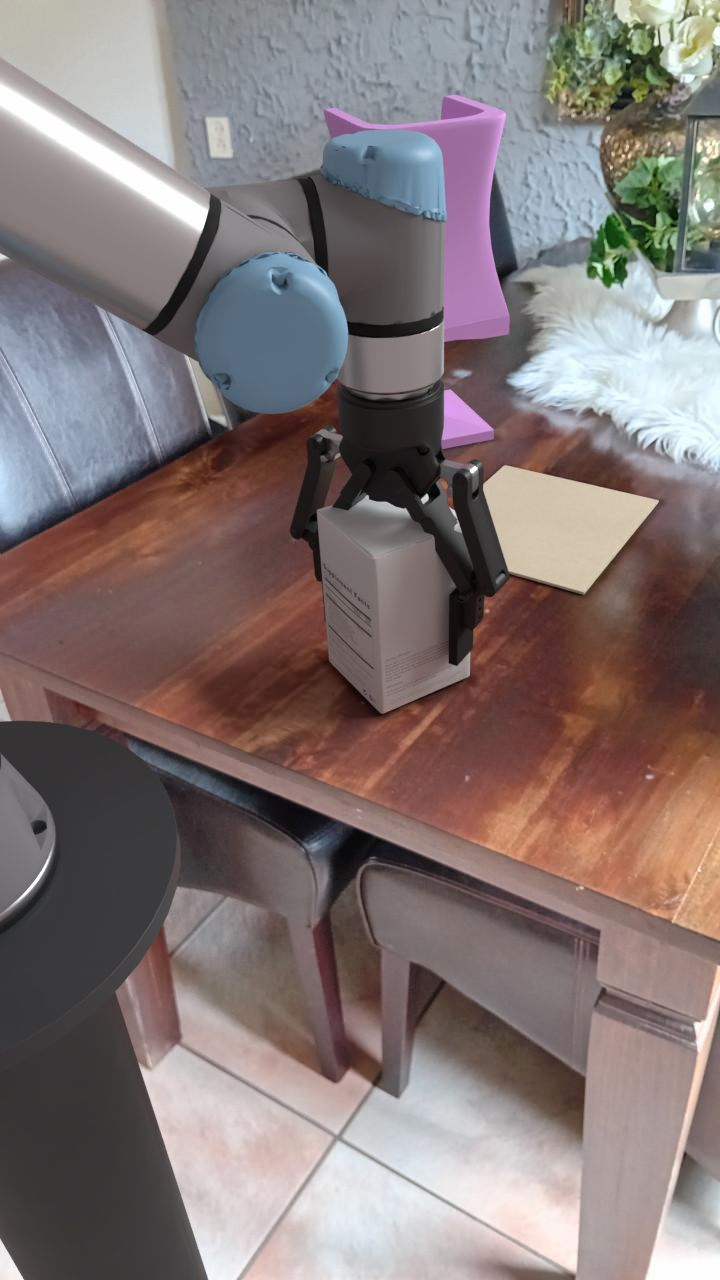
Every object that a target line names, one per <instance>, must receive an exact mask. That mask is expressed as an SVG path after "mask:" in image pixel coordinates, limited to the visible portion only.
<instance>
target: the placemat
mask: <svg viewBox="0 0 720 1280" xmlns="http://www.w3.org/2000/svg"><path fill="white" fill-rule="evenodd" d="M483 491H484V494H485V497H486V500H487V504H488V507H489V510H490V513H491V517H492V520H493V523H494V526H495V529H496V533H497V536H498V539H499V542H500V546H501V549H502V552H503V555H504V558H505V562H506V565H507V568H508V571H509V575H512V576H516V577H519V578H523V579H525V580H530V581H534V582H536V583H541V584H544V585H547V586H551V587H554V588H559V589H561V590H565V591H567V592H568V591H569V592H573V593H576V594H579V595H582V596H584V595H585V594H586V593H587V592H588V590H589V589H591V587H592V585H593V584H594V583H595V582H596V580H597V579H598V578H599V577H600V576H601V575H602V573H603V572H604V571H605V570H606V568H607V567H608V566H609V565H610V563H611V562H612V561H613V560H614V559H615V557H616V556H617V555H618V553H619V552H620V551H621V550H622V548H623V547H624V546H625V545H626V544H627V542H628V541H629V540H630V538H631V537H632V536H633V535H634V534H635V532H636V531H637V530H638V529H639V528H640V526H641V525H642V524H643V522H644V521H645V520H646V519H647V518H648V516H649V515H650V514H651V513H652V511H653V510H654V509H655V508H656V506H657V505H658V504H659V502H660V500H659V499H655V498H651V497H646V496H642V495H638V494H633V493H629V492H625V491H620V490H616V489H611V488H606V487H602V486H598V485H595V484H590V483H585V482H581V481H577V480H572V479H567V478H564V477H558V476H555V475H550V474H547V473H541V472H537V471H533V470H528V469H523V468H520V467H515V466H511V465H507V464H504V465H503V466H501V467H500V469H498V470H497V471H496V472H494V474H493V475H492V476H490V478H488V479H487V480H486V481H485V482H483ZM453 510H454V511H455V509H453Z"/></svg>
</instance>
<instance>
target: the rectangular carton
mask: <svg viewBox="0 0 720 1280" xmlns="http://www.w3.org/2000/svg"><path fill="white" fill-rule="evenodd" d="M428 499H429V497H428V495H427V494H426V495H425V496H424V497H423V498H422V499H421V501H422V503H423V504H424V503H425V502H427V501H428ZM333 505H334V504H330V505H327V506H324V507H323V508H321V509H318V510H317V521H318V533H319V545H320V557H321V568H322V581H323V591H322V594H323V593H324V604H323V606H324V605H325V617H324V619H325V618H326V621H325V629H326V640H327V652H328V662H329V663H330V664H331V665H332V666H333V667H334V668H335V669H336V670H337V671H338V672H339V673H340V674H341V675H342V676H343V677H344V678H345V679H346V680H347V681H348V682H349V683H350V684H351V685H352V686H353V687H354V688H355V690H357V691H358V693H360V694H361V695H362V696H363V697H364V698H365V699H366V700H367V701H368V703H370V704H371V706H373V708H374V709H376V711H377V712H379V714H381V715H383V714H386V713H389V712H390V711H393V710H395V709H397V708H400V707H402V706H404V705H407V704H410V703H411V702H413V701H416V700H418V699H421V698H423V697H425V696H428V695H429V694H432V693H434V692H436V691H439V690H441V689H444V688H446V687H449V686H451V685H453V684H455V683H457V682H460V681H462V680H464V679H467V678H469V677H470V674H471V651H470V652H469V653H468V655H467V656H466V657H465V658H464V659H463V660H462V661H461V662H460V663H459V665H458V666H455V665H452V664H449V595H450V594H451V593H452V592H453V591H454V590H455V589H456V588H457V587H456V586H455V584H454V582H453V580H452V579H451V577H450V575H449V573H448V572H447V570H446V568H445V566H444V565H443V563H442V561H441V559H440V558H439V556H438V554H437V553H436V551H435V538H434V536H433V535H431V534H428V533H425V532H424V530H423V528H422V526H421V525H420V523H418V522H415V521H413V519H412V518H411V516H410V515H409V513H408V511H407V509H406V508H405V509H402V508H399V507H395V506H393V505H392V504H390V503H388V502H376V501H373V500H369V496H368V495H366V497H365V498H364V499H362V500H361V501H360V502H359V503H357V504H356V505H355V506H353V507H352V508H351V509H349V510H348V511H347V510H343V509H339V508H334V507H332V506H333ZM449 508H450V510H451V511H452V513H453V515H454V517H455V518H456V520H457V522H458V519H457V516H456V513H455V511H454V510H455V509H454V508H451V507H450V506H449ZM454 530H455V531H457V532H460V533H462V531H461V528H460V525H459V522H458V523H457V524H456V525H455V527H454Z"/></svg>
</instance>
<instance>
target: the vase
mask: <svg viewBox="0 0 720 1280" xmlns="http://www.w3.org/2000/svg"><path fill="white" fill-rule="evenodd" d="M441 101H442V103H441V109H440V110H441V112H440V119H437V120H430V121H421V122H419V121H418V122H410V123H399V124H398V123H397V124H383V123H382V124H381V123H369V122H367V121H365V120H362V119H360V118H358V117H356V116H354V115H352V114H350V113H348V112H345V111H343V110H341V109H339V108H337V107H332V108H331V107H329V108H324V109H323V114H324V118H325V119H324V120H325V122H326V126H327V129H328V132H329V136H330V140H331V139H332V138H334V137H337V136H340V135H343V134H353V133H356V132H359V131H367V130H408V131H415V132H420V133H423V134H425V135H427V136H428V137H430V138H432V139H433V140H435V141H436V143H437V144H438V145H439V147H440V149H441V152H442V156H443V168H444V180H445V203H446V211H447V220H446V226H445V264H444V302H443V306H444V343H446V342H453V341H462V340H463V341H464V340H484V339H489V338H491V339H492V338H497V337H502V336H509V335H510V324H511V323H510V320H511V316H510V313H509V309H508V306H507V303H506V299H505V296H504V293H503V290H502V287H501V284H500V283H501V282H500V279H499V276H498V272H497V269H496V264H495V263H496V262H495V258H494V253H493V249H492V239H491V227H490V212H491V211H490V209H491V194H492V193H491V192H492V186H493V181H494V173H495V168H496V163H497V157H498V153H499V149H500V145H501V140H502V135H503V131H504V127H505V124H506V119H507V113H506V111H504V110H502V109H500V108H497V107H495V106H491V105H489V104H485V103H482V102H480V101H476V100H474V99H471V98H467V97H466V96H465V97H464V96H461V95H458V94H452V95H451V94H450V95H443V98H442V100H441ZM492 440H495V429H494V428H493V427H492V426H491V425H490V424H488V423H487V422H486V421H485V420H484V419H483V418H482V417H481V416H480V415H479V414H478V413H477V412H475V410H473V409H472V408H471V407H470V406H469V405H468V404H467V403H466V402H465V401H463V399H461V398H460V397H459V396H458V395H457V394H456V393H455V392H454V391H453V390H452V389H450V388H449V389H446V390H445V389H444V429H443V434H442V441H441V444H442V449H443V450H445V449H450V448H451V449H452V448H456V447H461V446H467V445H471V444H477V443H482V442H487V441H492Z"/></svg>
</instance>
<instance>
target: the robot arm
mask: <svg viewBox="0 0 720 1280" xmlns="http://www.w3.org/2000/svg"><path fill="white" fill-rule="evenodd" d="M319 169H320V174H315V175H309V176H307V178H298V179H292V180H291V179H290V180H289V179H288V180H280V181H268V182H257V183H245V184H244V183H243V184H234V185H223V186H222V185H221V186H220V185H219V186H210V187H203V186H201V185H199V184H198V183H196V182H195V181H194V180H192V179H190V178H189V177H188V176H186V175H184V174H182V173H181V172H180V171H178V170H176V169H174V168H173V167H172V166H170V165H168V164H167V163H165V162H164V161H162V160H161V159H159V158H157V157H156V156H154V155H153V154H151V153H150V152H148V151H147V150H146V149H143V148H142V147H141V146H139V145H137V144H135V143H134V142H132V141H131V140H129V139H128V138H126V137H125V136H123V135H122V134H121V133H119V132H117V131H116V130H114V129H112V128H111V127H109V126H108V125H107V124H105V123H103V122H101V121H100V120H98V119H97V118H95V117H94V116H93V115H90V114H89V113H88V112H86V111H84V110H83V109H81V108H80V107H79V106H76V105H75V104H74V103H72V102H71V101H69V100H68V99H66V98H65V97H63V96H61V95H60V94H58V93H57V92H56V91H53V90H52V89H51V88H49V87H47V86H45V85H44V84H43V83H41V82H39V80H36V79H35V78H33V77H32V76H30V75H29V74H27V73H26V72H24V71H23V70H21V69H19V68H18V67H17V66H15V65H13V64H12V63H10V62H8V61H7V60H5V59H4V58H3V57H1V56H0V254H1V255H3V256H4V257H6V258H8V259H10V260H12V261H14V262H16V263H17V264H19V265H21V266H23V267H24V268H26V269H28V270H30V271H32V272H34V273H35V274H38V275H40V276H41V277H43V278H45V279H47V280H49V281H50V282H52V283H54V284H56V285H58V286H60V287H61V288H63V289H64V290H67V291H69V292H71V293H72V294H73V295H76V296H78V297H80V298H81V299H84V300H85V301H87V302H89V303H90V304H93V305H94V306H97V308H100V309H101V310H104V311H106V312H108V313H109V314H111V315H113V316H115V317H117V318H119V319H120V320H122V321H124V322H125V323H128V324H130V325H131V326H133V327H135V328H137V329H139V330H140V331H142V332H144V333H146V334H148V335H150V336H152V337H153V338H154V339H156V340H157V341H159V342H161V343H163V344H164V345H166V346H168V347H169V348H172V349H173V350H175V351H177V352H179V353H181V354H182V355H184V356H186V357H188V358H190V359H192V360H194V361H195V362H197V363H198V365H199V368H200V370H201V372H202V373H203V375H204V376H205V377H206V378H207V379H208V380H209V381H210V382H211V383H212V384H213V385H214V387H215V388H216V389H217V390H218V391H219V393H220V394H221V395H222V396H223V397H224V398H226V399H227V401H229V402H231V403H232V404H234V405H236V406H237V407H240V408H241V409H244V410H247V411H249V412H252V413H257V414H262V415H265V414H266V415H279V414H286V413H291V412H292V413H293V412H294V411H297V410H300V409H303V408H304V407H307V406H308V405H310V404H311V403H313V402H315V401H316V400H318V399H319V398H320V397H321V396H322V395H323V394H324V393H326V392H327V390H328V389H329V388H331V385H332V384H333V383H334V382H335V381H336V380H337V381H338V382H339V384H338V385H337V388H336V396H337V397H336V399H337V415H338V429H339V432H340V434H339V433H338V431H337V430H336V428H335V427H334V426H333V425H326V426H325V427H323V428H321V429H320V430H318V431H317V432H316V433H314V434H313V435H311V436H309V437H308V438H307V439H306V442H305V443H306V454H307V456H306V457H307V464H306V469H305V473H304V477H303V480H302V483H301V488H300V491H299V495H298V499H297V502H296V505H295V509H294V512H293V513H294V514H293V516H292V520H291V523H290V528H289V533H290V535H291V537H292V538H293V539H295V540H304V541H305V542H306V543H308V547H309V549H310V550H311V551H312V560H313V570H314V572H313V573H314V577H315V579H316V582H320V583H321V589H322V600H323V601H322V602H323V616H324V622H326V618H325V605H324V593H323V581H322V568H321V557H320V545H319V533H318V521H317V510H318V509H321V508H324V507H325V504H326V501H327V498H328V494H329V490H330V488H331V484H332V481H333V478H334V474H335V470H336V468H337V463H338V459H340V457H341V459H342V460H343V462H344V463H345V465H346V467H347V468H348V470H349V472H350V473H351V475H350V478H349V479H348V480H347V481H346V483H345V484H344V486H343V487H342V489H341V490H340V492H339V496H338V497H337V499H336V500H335V502H334V503H333V504H332V505H333V506H332V507H334V508H339V509H343V510H347V511H348V510H349V509H351V508H352V507H353V506H355V505H356V504H357V503H359V502H360V501H361V500H362V499H364V498H365V497H366V495H368V496H369V500H373V501H376V502H388V503H390V504H392V505H393V506H395V507H399V508H402V509H405V508H406V509H407V511H408V513H409V515H410V516H411V518H412V519H413V521H415V522H418V523H420V525H421V526H422V528H423V530H424V532H425V533H428V534H431V535H433V536H434V538H435V551H436V553H437V554H438V556H439V558H440V559H441V561H442V563H443V565H444V566H445V568H446V570H447V572H448V573H449V575H450V577H451V579H452V580H453V582H454V584H455V586H456V587H457V588H456V589H455V590H454V591H453V592H452V593H451V594H450V595H449V664H452V665H455V666H458V665H459V663H460V662H461V661H462V660H463V659H464V658H465V657H466V656H467V655H468V653H469V652H470V653H471V652H472V650H473V649H474V631H475V629H476V628H477V627H478V626H479V625H480V623H481V622H482V621H483V620H484V616H485V597H487V598H493V597H494V596H495V595H496V594H497V593H498V592H499V591H500V590H501V589H502V587H504V585H505V584H506V583H507V582H509V580H510V577H511V574H509V571H508V568H507V565H506V562H505V558H504V555H503V552H502V549H501V546H500V542H499V539H498V536H497V533H496V529H495V526H494V523H493V520H492V517H491V513H490V510H489V507H488V504H487V500H486V497H485V494H484V491H483V484H484V480H485V479H484V477H485V476H484V472H485V468H484V464H483V463H482V461H480V460H479V459H478V458H473V459H471V460H469V461H468V462H467V463H463V462H458V461H455V460H450V459H448V458H447V456H446V454H445V451H444V449H442V444H441V441H442V434H443V429H444V390H445V384H444V383H443V381H442V380H441V378H442V377H443V375H444V373H445V342H444V306H443V302H444V264H445V226H446V220H447V211H446V203H445V180H444V168H443V156H442V152H441V149H440V147H439V145H438V144H437V143H436V141H435V140H433V139H432V138H430V137H428V136H427V135H425V134H423V133H420V132H415V131H408V130H367V131H359V132H356V133H353V134H343V135H340V136H337V137H334V138H332V139H331V138H330V139H329V140H328V141H327V142H326V143H325V145H324V147H323V150H322V164H321V165H320V167H319ZM440 479H443V480H444V481H445V483H446V486H447V487H446V490H445V488H444V487H443V484H441V481H440ZM426 494H427V495H428V497H429V499H428V501H427V502H425V503H424V504H423V503H422V501H421V499H422V498H423V497H424V496H425V495H426ZM448 495H450V496H451V498H452V504H453V510H455V513H456V516H457V519H458V522H459V525H460V528H461V531H462V533H460V532H457V531H455V530H454V527H455V525H456V524H457V523H458V522H457V520H456V518H455V517H454V515H453V513H452V511H451V510H450V508H451V507H450V506H449V504H448V502H449V496H448ZM449 507H450V508H449ZM59 854H60V840H59V834H58V831H57V828H56V825H55V822H54V819H53V816H52V813H51V811H50V809H49V807H48V805H47V804H46V802H45V801H44V800H43V798H42V797H41V796H40V794H39V793H38V792H37V791H36V790H35V789H34V788H33V787H32V786H31V785H30V784H29V783H28V782H27V781H26V780H25V778H24V777H23V776H22V775H21V774H20V773H19V772H18V771H17V770H16V769H15V768H14V767H13V766H12V765H11V764H10V763H9V762H8V760H7V759H6V758H5V757H4V756H3V755H2V754H1V752H0V934H2V933H3V932H5V931H6V930H8V929H9V928H10V927H12V926H13V925H14V924H15V923H17V922H18V921H19V920H20V919H21V918H22V917H23V916H24V915H25V914H26V913H27V912H28V911H29V910H30V909H31V908H32V907H33V906H34V905H35V904H36V903H37V902H38V900H39V899H40V898H41V896H42V895H43V894H44V892H45V891H46V889H47V887H48V886H49V884H50V882H51V880H52V878H53V876H54V873H55V871H56V868H57V865H58V860H59Z"/></svg>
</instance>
